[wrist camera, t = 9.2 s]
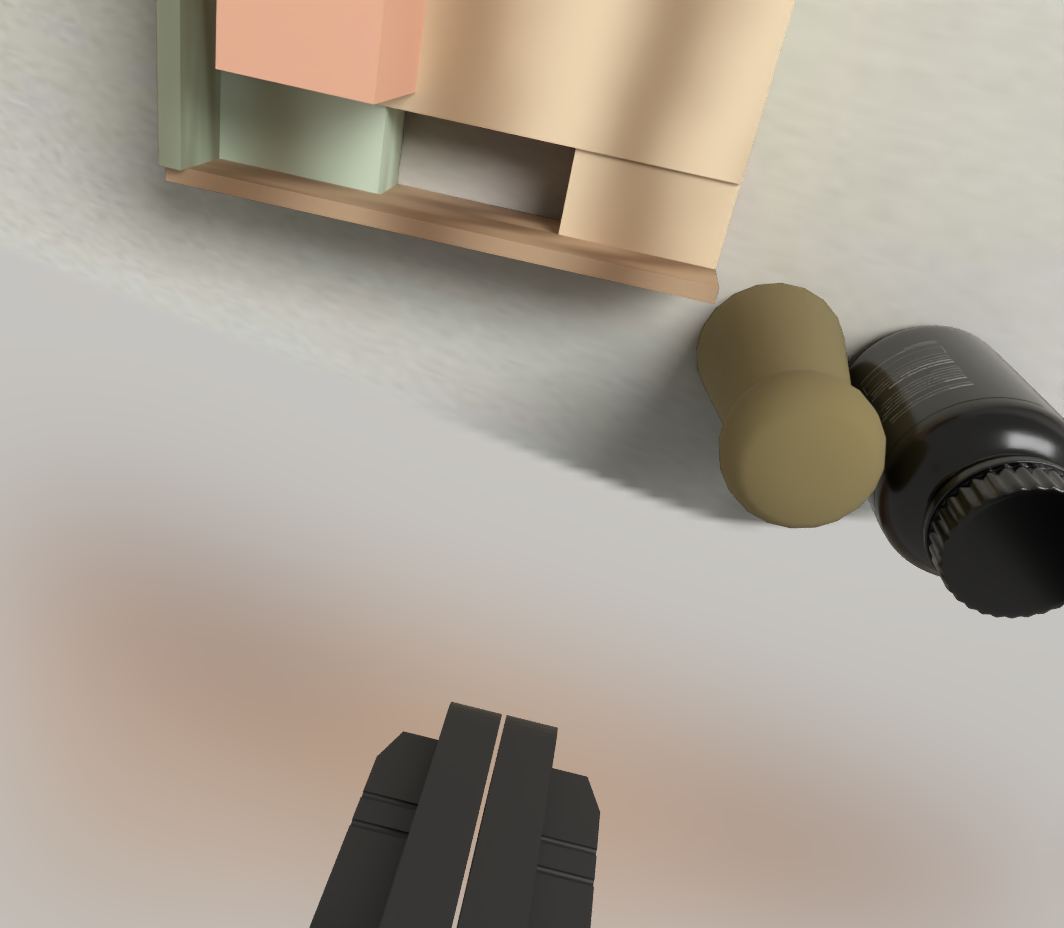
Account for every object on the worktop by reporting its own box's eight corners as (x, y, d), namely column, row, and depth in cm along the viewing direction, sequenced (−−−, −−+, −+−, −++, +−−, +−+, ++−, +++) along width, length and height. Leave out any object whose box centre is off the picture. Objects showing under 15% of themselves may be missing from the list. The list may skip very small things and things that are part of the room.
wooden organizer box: (827, -148, 29) (863, -184, 23) (707, 266, 35) (715, 308, 30) (240, -269, 29) (151, -330, 24) (231, 159, 36) (158, 182, 31)
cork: (829, 425, 38) (887, 567, 28) (688, 413, 38) (696, 548, 28) (858, 288, 35) (934, 392, 25) (705, 277, 35) (721, 375, 26)
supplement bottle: (824, 469, 38) (885, 640, 28) (842, 320, 35) (918, 448, 25) (989, 473, 38) (1117, 651, 27) (1022, 320, 34) (1181, 453, 24)
